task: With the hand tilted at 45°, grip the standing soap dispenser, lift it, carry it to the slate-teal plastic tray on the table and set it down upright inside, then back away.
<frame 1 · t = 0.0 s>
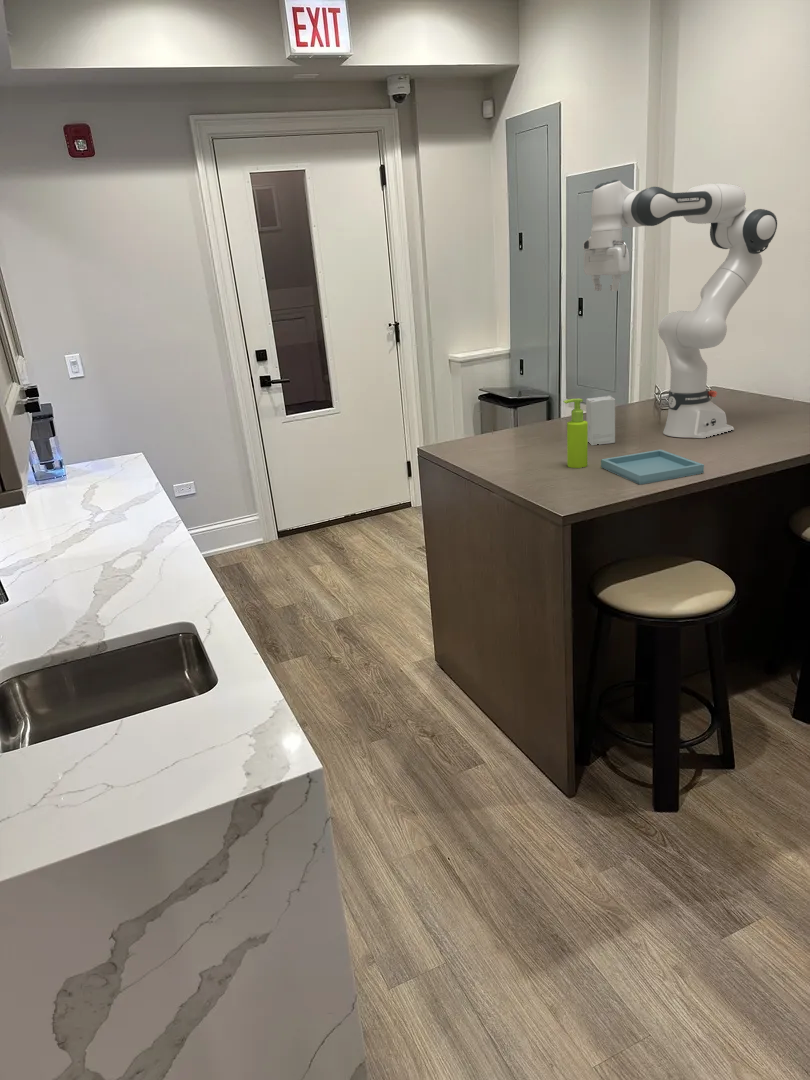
hand: (605, 291, 221), 48 cm above the countertop, tool pointing down, fingers open, 8 cm apart
soap dispenser: (575, 466, 221), on the countertop
tray: (650, 470, 210), on the countertop
skincare box: (600, 443, 243), on the countertop
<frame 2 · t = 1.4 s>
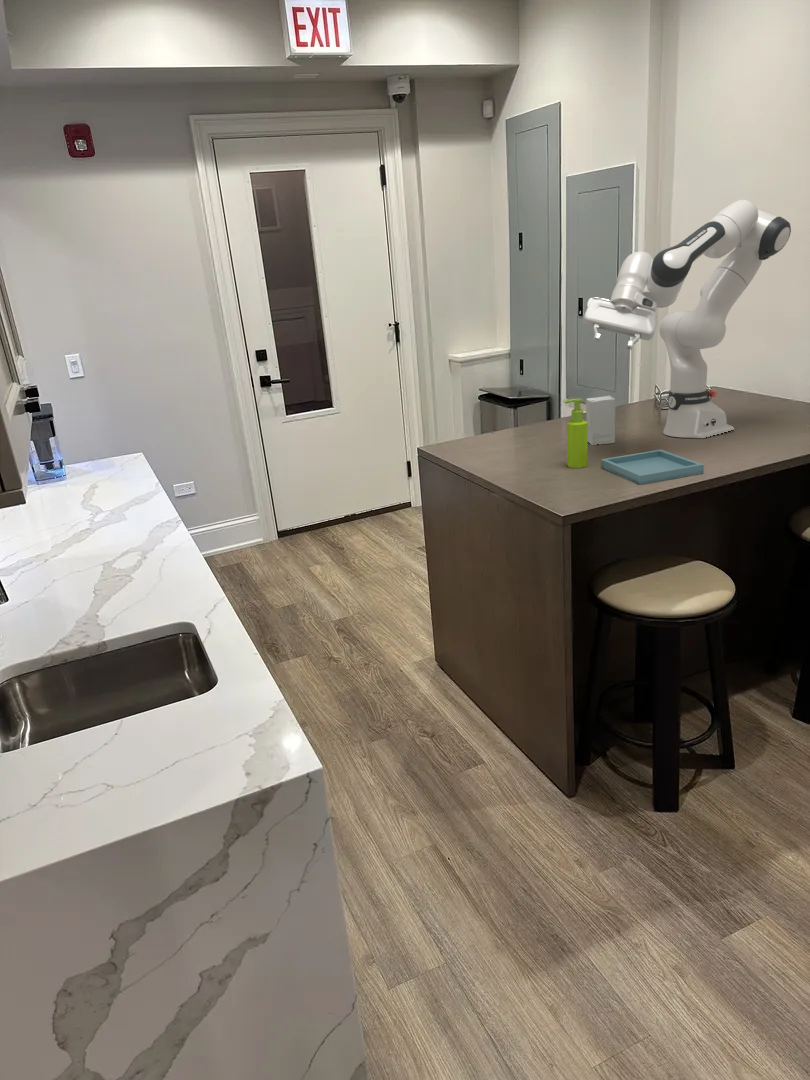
hand: (612, 344, 208), 35 cm above the countertop, tool tilted 40°, fingers open, 8 cm apart
nothing on the countertop moved.
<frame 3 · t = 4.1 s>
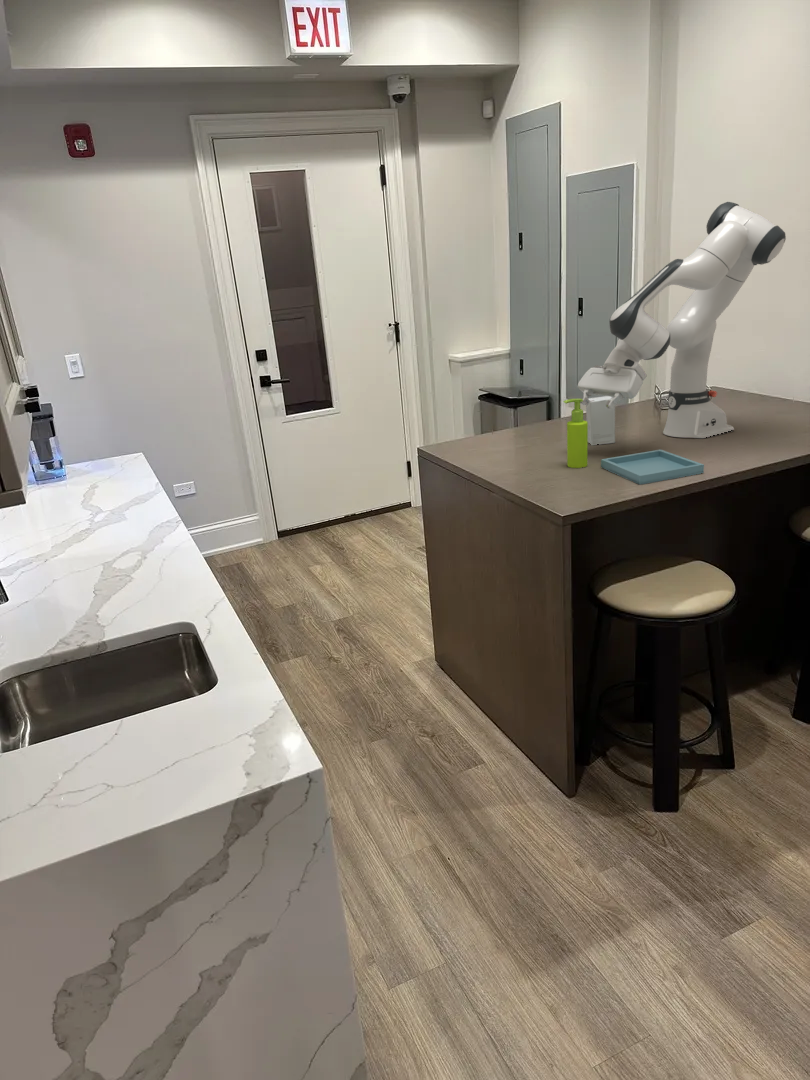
hand: (596, 405, 217), 17 cm above the countertop, tool tilted 45°, fingers open, 8 cm apart
nothing on the countertop moved.
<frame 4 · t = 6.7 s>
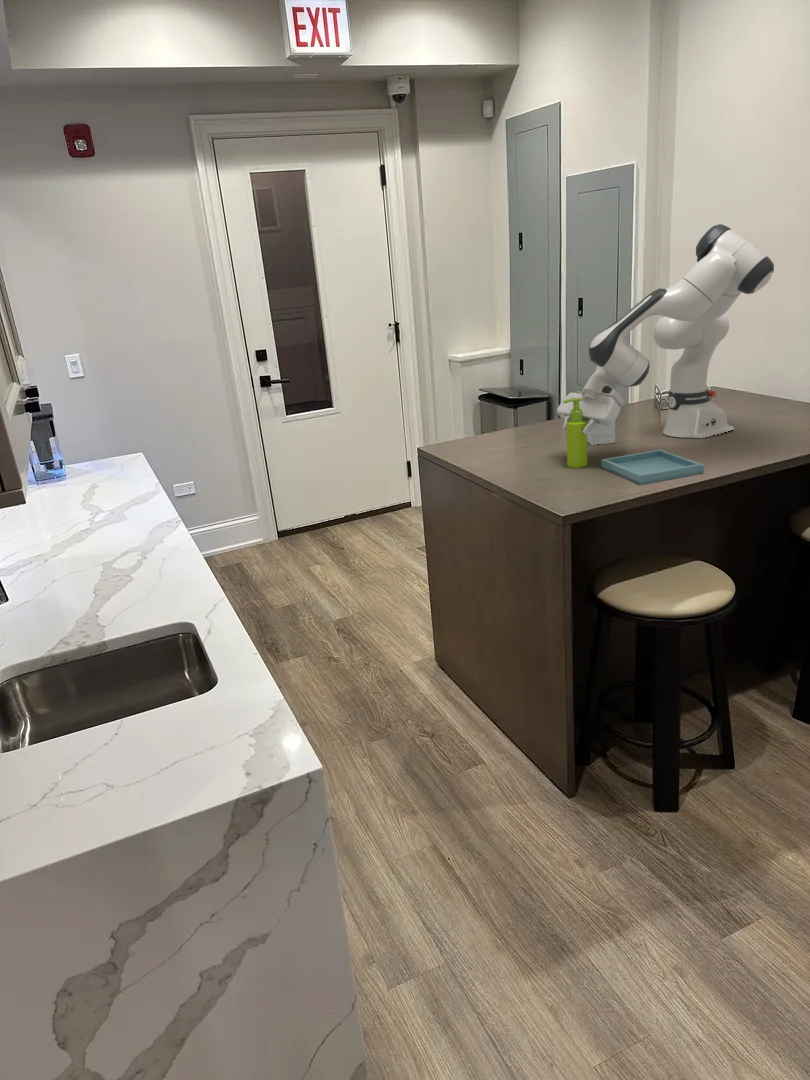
hand: (574, 432, 216), 10 cm above the countertop, tool tilted 45°, fingers closed on soap dispenser, 6 cm apart
soap dispenser: (575, 466, 221), on the countertop, touching gripper
everything else where it was.
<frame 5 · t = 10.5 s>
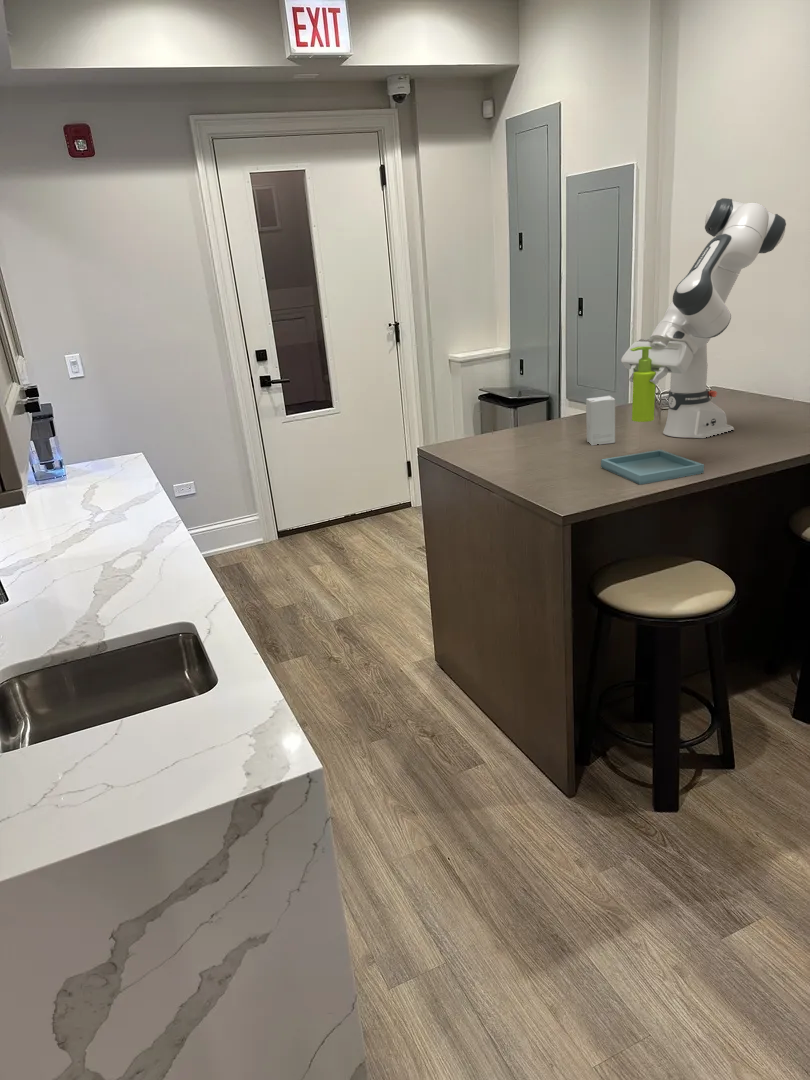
hand: (641, 381, 202), 25 cm above the countertop, tool tilted 45°, fingers closed on soap dispenser, 6 cm apart
soap dispenser: (640, 420, 206), point 14 cm above the countertop, touching gripper
everything else where it was.
when the fingers open (13 cm above the countertop, at t = 14.3 s): soap dispenser drops 1 cm, resting on tray.
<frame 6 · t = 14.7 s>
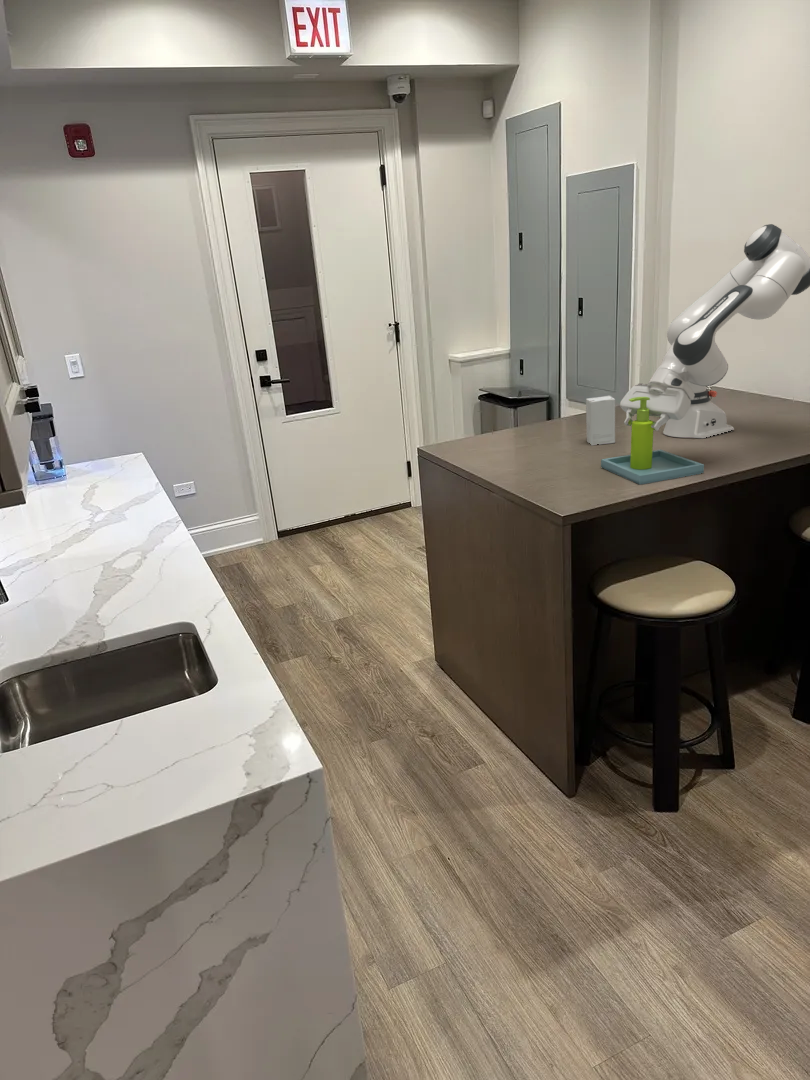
hand: (640, 426, 206), 13 cm above the countertop, tool tilted 45°, fingers open, 8 cm apart
soap dispenser: (639, 467, 211), point 1 cm above the countertop, touching tray
everything else where it was.
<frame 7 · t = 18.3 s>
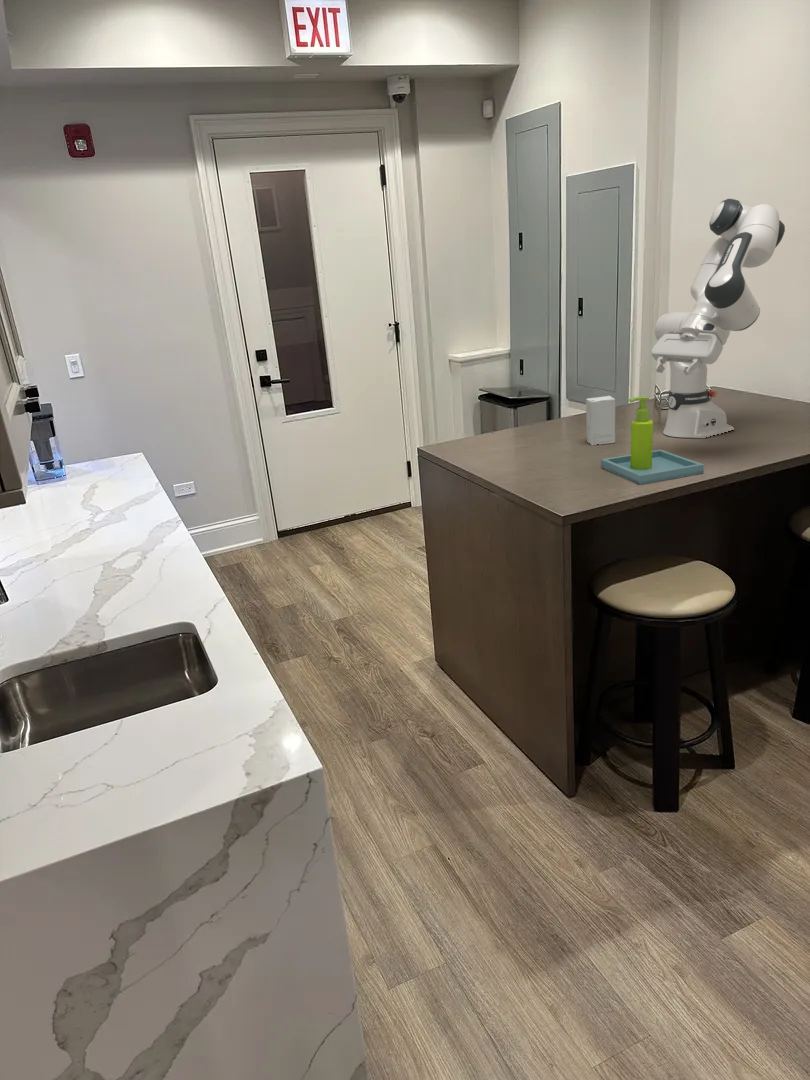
hand: (672, 372, 208), 26 cm above the countertop, tool tilted 45°, fingers open, 8 cm apart
nothing on the countertop moved.
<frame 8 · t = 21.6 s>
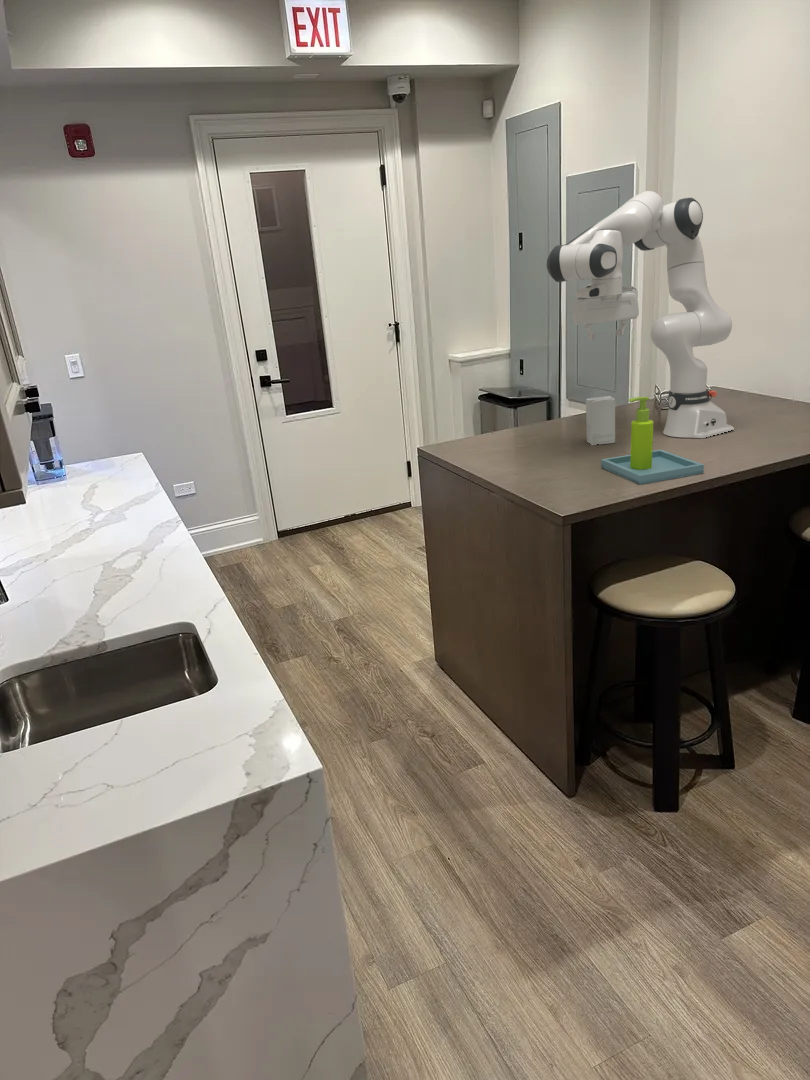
hand: (605, 337, 220), 35 cm above the countertop, tool pointing down, fingers open, 8 cm apart
nothing on the countertop moved.
at the end: soap dispenser inside the target area on the tray (3.2 cm from its centre), point 0.6 cm above the tray's base; soap dispenser tilted 0°; the gripper is holding nothing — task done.
